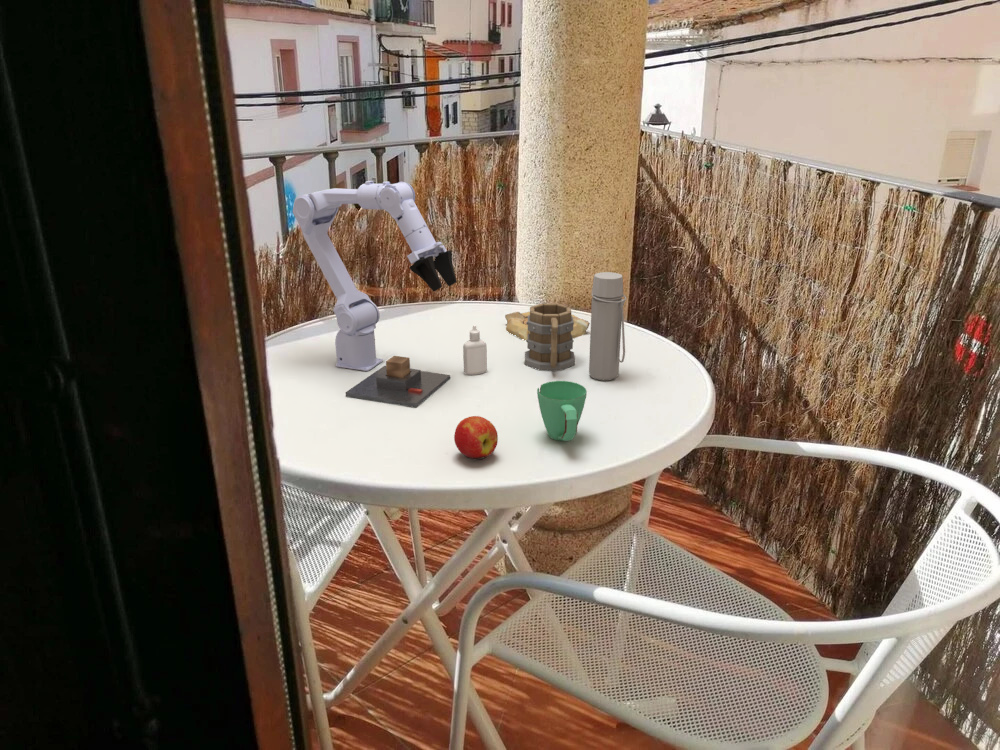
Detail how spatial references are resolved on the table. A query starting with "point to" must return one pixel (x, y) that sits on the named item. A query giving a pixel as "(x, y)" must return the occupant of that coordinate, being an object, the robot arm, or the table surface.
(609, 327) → the water bottle
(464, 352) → the eye dropper bottle
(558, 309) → the tankard
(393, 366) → the walnut post
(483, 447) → the apple
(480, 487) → the table surface
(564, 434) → the mug
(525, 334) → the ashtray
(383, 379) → the dark grey stepped base
